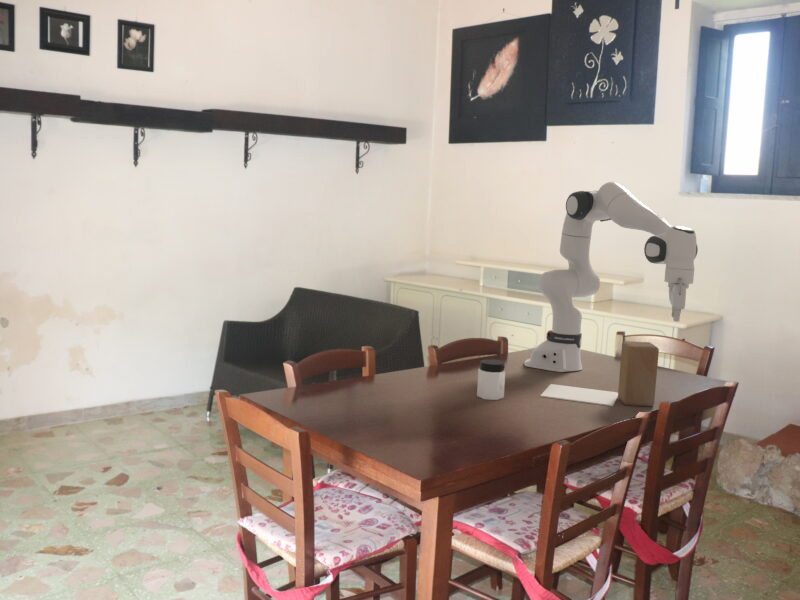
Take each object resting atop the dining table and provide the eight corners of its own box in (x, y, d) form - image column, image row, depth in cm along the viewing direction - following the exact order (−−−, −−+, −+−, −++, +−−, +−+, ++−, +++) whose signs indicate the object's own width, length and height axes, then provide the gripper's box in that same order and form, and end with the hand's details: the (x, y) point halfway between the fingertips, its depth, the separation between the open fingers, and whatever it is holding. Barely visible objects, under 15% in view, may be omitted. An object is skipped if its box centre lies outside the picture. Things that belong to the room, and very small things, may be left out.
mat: (540, 396, 271) (540, 395, 271) (550, 385, 288) (550, 383, 288) (612, 406, 262) (613, 405, 262) (619, 393, 279) (619, 392, 279)
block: (654, 407, 263) (660, 347, 260) (624, 405, 263) (629, 346, 261) (646, 399, 273) (651, 341, 270) (616, 397, 273) (621, 340, 270)
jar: (494, 401, 262) (496, 366, 260) (473, 397, 267) (475, 362, 265) (507, 396, 269) (509, 361, 268) (486, 392, 274) (488, 357, 272)
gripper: (692, 281, 248) (688, 325, 250) (687, 274, 267) (683, 315, 269) (670, 279, 249) (666, 323, 251) (667, 273, 269) (663, 314, 271)
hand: (675, 319), depth 260 cm, fingers open, 7 cm apart
